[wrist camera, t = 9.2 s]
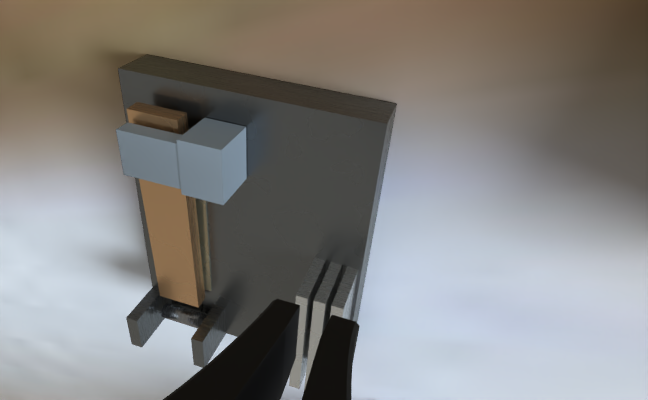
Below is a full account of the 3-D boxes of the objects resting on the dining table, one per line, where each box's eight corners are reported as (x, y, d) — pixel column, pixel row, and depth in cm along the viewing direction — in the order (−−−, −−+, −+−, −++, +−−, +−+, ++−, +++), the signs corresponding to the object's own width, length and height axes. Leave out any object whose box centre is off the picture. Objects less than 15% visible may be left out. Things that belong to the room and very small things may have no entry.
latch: (246, 178, 20) (223, 204, 19) (153, 156, 21) (123, 179, 19) (246, 126, 19) (221, 150, 17) (146, 104, 20) (114, 125, 18)
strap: (209, 321, 26) (202, 332, 26) (170, 309, 27) (162, 320, 26) (189, 112, 19) (178, 121, 18) (135, 100, 19) (123, 108, 19)
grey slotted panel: (353, 341, 27) (330, 412, 23) (175, 287, 29) (128, 344, 25) (396, 103, 19) (372, 155, 15) (147, 54, 21) (73, 89, 17)
